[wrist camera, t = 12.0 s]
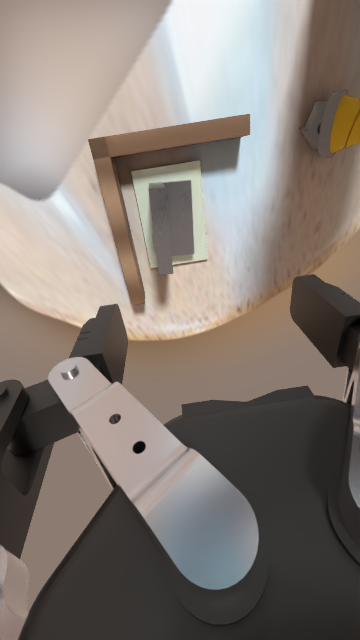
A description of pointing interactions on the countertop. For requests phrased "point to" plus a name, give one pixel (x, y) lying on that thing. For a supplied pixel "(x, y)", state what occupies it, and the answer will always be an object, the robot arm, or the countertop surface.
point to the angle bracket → (171, 221)
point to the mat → (194, 174)
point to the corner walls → (141, 143)
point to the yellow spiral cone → (333, 124)
